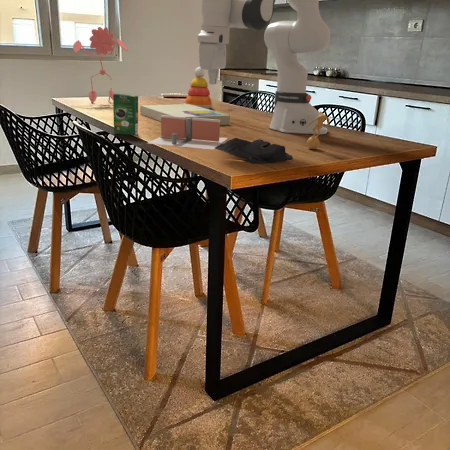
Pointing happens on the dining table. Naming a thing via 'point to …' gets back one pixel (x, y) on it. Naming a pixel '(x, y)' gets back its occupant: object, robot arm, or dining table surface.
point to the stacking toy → (199, 91)
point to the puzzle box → (183, 112)
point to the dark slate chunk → (255, 151)
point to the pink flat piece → (176, 126)
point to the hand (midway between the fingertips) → (212, 84)
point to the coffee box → (125, 114)
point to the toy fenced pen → (187, 142)
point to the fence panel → (205, 129)
